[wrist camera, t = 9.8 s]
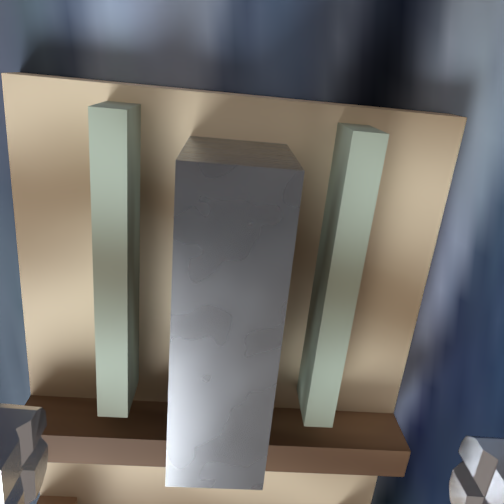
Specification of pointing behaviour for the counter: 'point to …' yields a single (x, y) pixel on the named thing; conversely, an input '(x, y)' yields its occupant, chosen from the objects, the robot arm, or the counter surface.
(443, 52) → the counter surface
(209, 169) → the bar
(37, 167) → the lock board
